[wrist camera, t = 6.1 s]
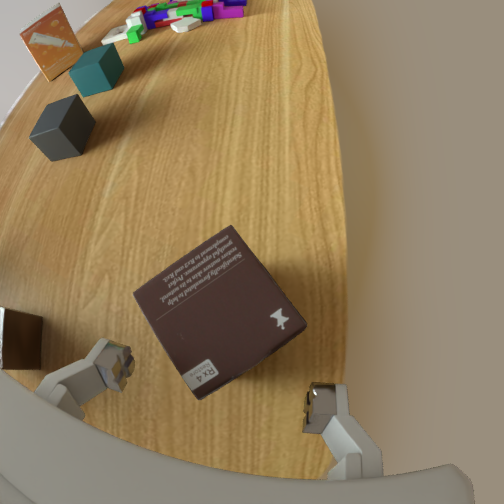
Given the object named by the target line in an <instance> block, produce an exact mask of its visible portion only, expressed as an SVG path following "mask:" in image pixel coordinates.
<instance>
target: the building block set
mask: <svg viewBox="0 0 504 504" xmlns="http://www.w3.org/2000/svg"><path fill="white" fill-rule="evenodd" d="M246 4H247V0H170V2H169V3H168V4H166V3H161V4H159V3H157V4H152V5H151V6H148V7H147V6H142V7H138V8H137V9H136V10H135V11H134V12H133V13H132V14H131V16H129V17H128V18H127V19H126V23H127V24H126V25H122V26H119V27H116V28H113V29H111V30H110V31H109V33H108V34H107V35H106V36H105V37H104V38H103V39H102V41H101V42H102V44H103V45H106V44H109V43H112V42H116V41H119V40H123V39H126V38H128V40H129V42H130V44H132V43H136V42H139V41H140V40H141V38H142V36H141V35H142V34H145V33H146V31H147V30H148V29H153V28H158V27H162V26H168V25H171V28H172V29H173V30H174V31H176V32H178V33H180V32H187V31H190V30H192V29H194V28H196V27H198V26H200V25H202V24H201V20H203V22H205V21H213V20H214V19H220V18H234V17H243V15H244V11H243V6H246ZM224 6H230V7H224ZM123 31H124V32H123ZM120 32H123V33H120ZM119 33H120V34H119Z"/></svg>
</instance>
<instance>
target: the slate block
mask: <svg viewBox="0 0 504 504" xmlns="http://www.w3.org/2000/svg"><path fill="white" fill-rule="evenodd" d="M95 122H96V121H95V120H94V118H93V117H92V115H91V114H90V112H89V111H88V109H87V108H86V106H85V105H84V103H83V102H82V100H81V99H80V97H79V95H78V94H76V95H73V96H70V97H67V98H64V99H61V100H58V101H56V102H53V103H51V104H48V105H47V106H46V107H45V109H44V111H43V112H42V114H41V116H40V118H39V119H38V121H37V123H36V125H35V127H34V129H33V130H32V132H31V134H30V136H29V139H30V140H31V141H32V142H33V143H34V144H35V145H36V146H37V147H38V148H39V149H40V150H41V151H42V152H43V153H44V154H45V155H46V156H47V157H48V159H49V160H50V161H56V160H61V159H65V158H70V157H75V156H80V155H82V153H83V150H84V148H85V145H86V143H87V140H88V138H89V136H90V133H91V131H92V129H93V127H94V125H95Z"/></svg>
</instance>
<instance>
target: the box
mask: <svg viewBox="0 0 504 504" xmlns="http://www.w3.org/2000/svg"><path fill="white" fill-rule="evenodd" d="M133 296H134V298H135V300H136V302H137V303H138V305H139V307H140V309H141V311H142V313H143V314H144V316H145V318H146V320H147V321H148V323H149V325H150V326H151V328H152V330H153V331H154V333H155V335H156V337H157V338H158V340H159V342H160V343H161V345H162V347H163V348H164V350H165V351H166V353H167V355H168V356H169V358H170V359H171V361H172V362H173V364H174V365H175V367H176V369H177V370H178V372H179V373H180V375H181V376H182V378H183V379H184V381H185V382H186V384H187V385H188V387H189V388H190V390H191V391H192V393H193V394H194V395H195V397H196V398H197V399H198V400H202V399H203V398H205V397H206V396H208V395H210V394H211V393H213V392H215V391H217V390H218V389H220V388H221V387H223V386H224V385H226V384H228V383H229V382H231V381H232V380H234V379H235V378H237V377H238V376H240V375H241V374H243V373H244V372H246V371H248V370H249V369H251V368H253V367H255V366H256V365H257V364H258V363H260V362H261V361H263V360H264V359H265V358H266V357H268V356H269V355H271V354H272V353H274V352H275V351H277V350H278V349H279V348H281V347H282V346H284V345H285V344H286V343H288V342H289V341H290V340H292V339H294V338H295V337H296V336H297V335H299V334H300V333H301V332H303V331H304V330H305V329H306V327H307V323H306V321H305V320H304V319H303V317H302V316H301V315H300V314H299V312H298V311H297V310H296V308H295V307H294V306H293V305H292V303H291V302H290V300H289V299H288V298H287V297H286V296H285V294H284V293H283V292H282V290H281V289H280V287H279V286H278V285H277V283H276V282H275V281H274V279H273V278H272V276H271V275H270V274H269V272H268V271H267V270H266V268H265V267H264V266H263V265H262V264H261V262H260V261H259V260H258V259H257V257H256V256H255V255H254V253H253V252H252V251H251V250H250V248H249V247H248V246H247V245H246V243H245V242H244V241H243V239H242V238H241V237H240V235H239V234H238V233H237V231H236V230H235V229H234V227H233V226H232V225H230V226H228V227H227V228H225V229H223V230H221V231H220V232H219V233H217V234H216V235H214V236H213V237H211V238H209V239H208V240H207V241H205V242H203V243H202V244H201V245H199V246H198V247H196V248H195V249H194V250H192V251H191V252H189V253H188V254H186V255H185V256H183V257H182V258H180V259H179V260H178V261H176V262H175V263H173V264H172V265H170V266H169V267H168V268H166V269H165V270H164V271H162V272H161V273H159V274H158V275H156V276H155V277H154V278H152V279H151V280H149V281H148V282H147V283H145V284H144V285H143V286H141V287H140V288H139V289H137V290H136V291H135V292H133Z"/></svg>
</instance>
